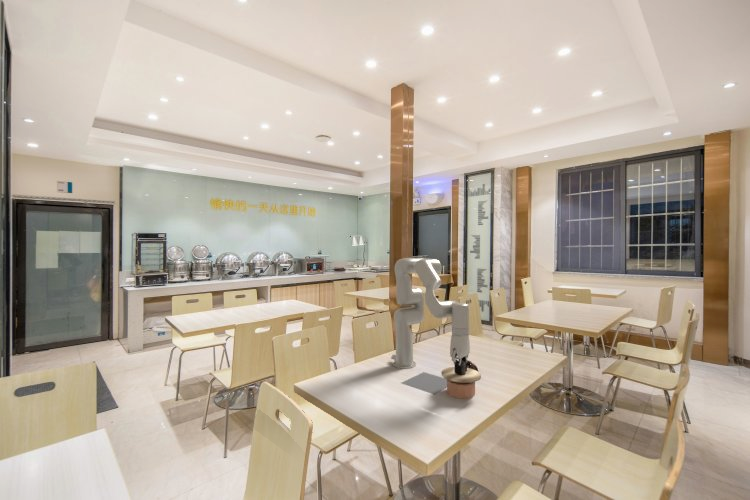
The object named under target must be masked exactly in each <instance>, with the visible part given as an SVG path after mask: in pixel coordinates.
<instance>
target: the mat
mask: <svg viewBox="0 0 750 500" xmlns="http://www.w3.org/2000/svg"><path fill="white" fill-rule="evenodd" d="M401 384H402V385H405V386H409V387H410V388H411V387H412V388H414V389H418V390H420V391H424V392H426V393H429V394H433V395H437V394H438V393H440V392H441V391H443V390H445V389H447V379H445V378H444V377H443V376H439V375H435V374H431V373H428V372H425V371H423V372H421V373H418V374H416V375H414V376H413V377H411V378H408V379H406V380H404V381H402V382H401Z"/></svg>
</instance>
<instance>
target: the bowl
mask: <svg viewBox="0 0 750 500" xmlns="http://www.w3.org/2000/svg"><path fill="white" fill-rule="evenodd" d="M446 393H447V394H448V395H449V396H451V397H454V398H457V399H471V398H473V397H475V395H476V382H470V383H460V382H454V381H450V380H447V388H446Z"/></svg>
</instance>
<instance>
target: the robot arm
mask: <svg viewBox="0 0 750 500" xmlns="http://www.w3.org/2000/svg"><path fill="white" fill-rule="evenodd" d="M394 264H395V265H394V276H395V281H396V284H395V286H396V287H395V289H396V291H395V294H396V295H395V296H396V298H395V299H396V303H397V305H399V306H401V307H402V308H398V309H396V310H395V311H394V313H393V321H394V327H395V328H394V329H395V330H394V331H395V354H391V357H390V358H391V360H394V361H393V363H392V365H393V367H394V368H396V369H405V370H408V369H413V368H415V367H416V366H417V363H416V361H415V360H414V334H413V330H412V329H411V327H410V326H412V325H418V324H421V323H422V322H423V321H424V318H425V305H426V306H427V308H428V311H429V312H430V313H431V315H432V316H433V317H434V318H436V319H445V318H451V336H450V346H449V354H450V355H449V356H450V358H451V361H452V362H453V365H454V367H455V373H456V374H460V375H461V374H462V365H461V361H464V362H465V368H466V371H467V360H468V357H469V355H470V353H471V352H470V351H471V345H470V344H471V342H470V306H469V304H468V303H465V302H458V300H453V299H452V300H442V301H439V300H438V299H437V297H436V294H435V291H437V290H438V289H439V288H440V287H441V285H442V279H441V278H440V276H439V275H440V273H441V272H442V270H443V269H442V264H441V262H440V260H438V259H436V258H428V257H404V258H400V259H398V260H396V262H395V263H394ZM409 274H417V276H418V277H419V280H420V281H421V283H422V284H423V287H424V288H425V292H424V293H423V290H421V288H419V287H412V284H413V282H412V281H413V280H412V278H411V276H410V275H409ZM403 306H405V307H403ZM406 306H410V307H406Z"/></svg>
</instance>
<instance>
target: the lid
mask: <svg viewBox="0 0 750 500" xmlns="http://www.w3.org/2000/svg"><path fill="white" fill-rule="evenodd" d="M461 365H462V374H461V375H460V374H456V373H455V366H451V367H446V368H444V369H442V370H441V377H442V378H445V379H447V380H450V381H454V382H460V383H470V382H475V383H476V382H479V381H480V380H481V378H482V374H481V373H480V372H478V371H479V370H478V371H476V370H473V369H470V368H467V371H466V368H465V362H464V361H461Z"/></svg>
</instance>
